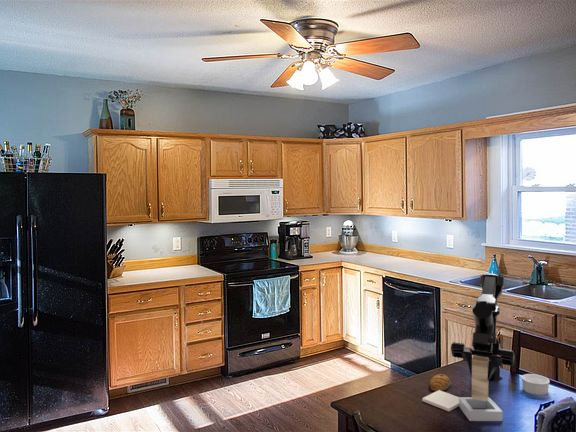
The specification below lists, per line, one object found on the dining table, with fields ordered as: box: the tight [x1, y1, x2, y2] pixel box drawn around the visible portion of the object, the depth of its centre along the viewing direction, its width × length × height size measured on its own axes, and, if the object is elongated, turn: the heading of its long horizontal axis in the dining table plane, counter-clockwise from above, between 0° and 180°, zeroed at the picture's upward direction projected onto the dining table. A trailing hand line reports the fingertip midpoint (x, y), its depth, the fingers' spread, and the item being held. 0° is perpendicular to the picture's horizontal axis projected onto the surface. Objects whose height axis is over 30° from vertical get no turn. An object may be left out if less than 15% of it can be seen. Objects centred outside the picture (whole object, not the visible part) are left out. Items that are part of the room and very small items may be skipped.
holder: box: [458, 396, 504, 422], centre depth 147 cm, size 10×10×3 cm
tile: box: [421, 390, 460, 412], centre depth 156 cm, size 10×10×1 cm
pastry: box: [429, 373, 452, 392], centre depth 167 cm, size 9×7×4 cm
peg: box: [471, 355, 490, 402], centre depth 147 cm, size 4×4×12 cm
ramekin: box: [520, 373, 550, 396], centre depth 164 cm, size 9×9×4 cm
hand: (479, 378), depth 145 cm, fingers closed on peg, 4 cm apart
